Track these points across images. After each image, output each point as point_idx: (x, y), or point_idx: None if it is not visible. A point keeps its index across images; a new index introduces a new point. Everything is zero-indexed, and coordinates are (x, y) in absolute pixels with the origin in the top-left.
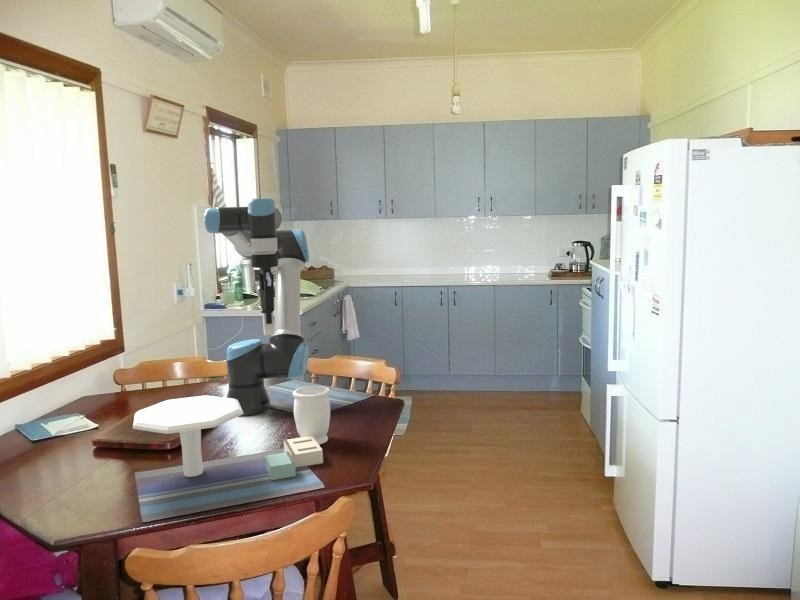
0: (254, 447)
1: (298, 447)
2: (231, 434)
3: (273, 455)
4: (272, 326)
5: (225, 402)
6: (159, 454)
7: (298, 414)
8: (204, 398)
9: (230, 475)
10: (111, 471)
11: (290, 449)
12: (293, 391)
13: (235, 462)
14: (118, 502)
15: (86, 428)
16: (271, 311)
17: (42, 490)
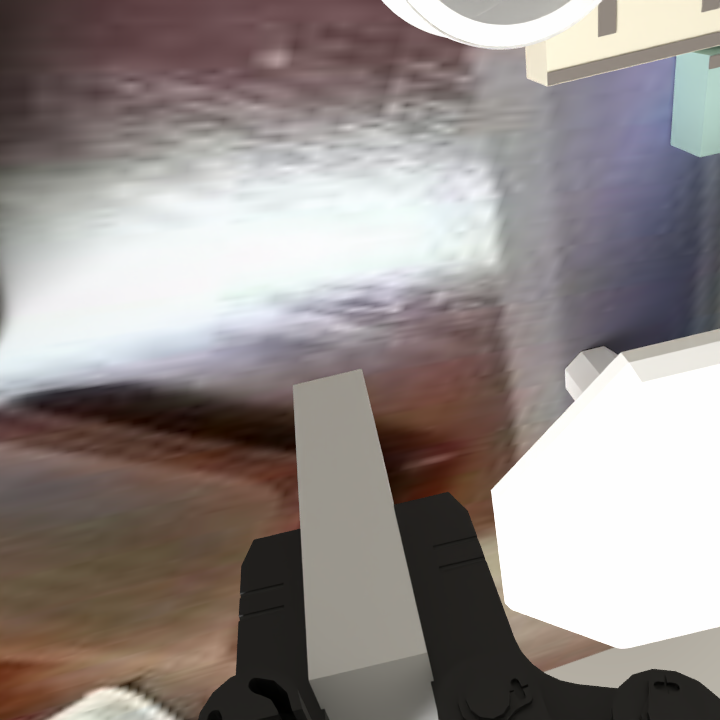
0: (427, 211)
1: (675, 7)
2: (249, 318)
3: (717, 124)
4: (380, 455)
5: (674, 408)
6: (401, 489)
7: (541, 5)
8: (561, 500)
9: (664, 262)
10: (493, 555)
11: (687, 48)
12: (472, 44)
13: (558, 262)
14: None
15: (129, 701)
16: (613, 691)
17: (553, 630)
